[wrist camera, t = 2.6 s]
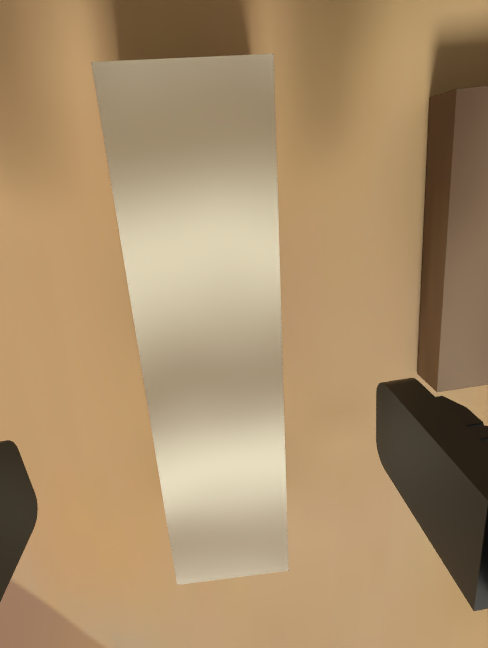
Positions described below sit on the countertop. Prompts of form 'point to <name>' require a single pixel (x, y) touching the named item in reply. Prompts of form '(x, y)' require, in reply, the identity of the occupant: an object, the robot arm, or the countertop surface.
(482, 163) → the balance stand
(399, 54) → the countertop surface
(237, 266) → the pale gold metallic bar
